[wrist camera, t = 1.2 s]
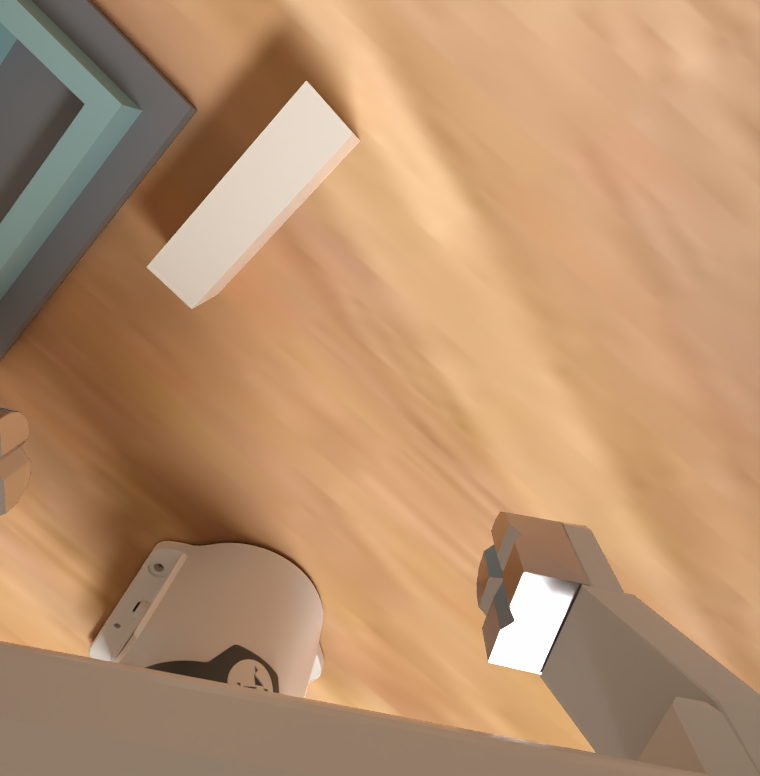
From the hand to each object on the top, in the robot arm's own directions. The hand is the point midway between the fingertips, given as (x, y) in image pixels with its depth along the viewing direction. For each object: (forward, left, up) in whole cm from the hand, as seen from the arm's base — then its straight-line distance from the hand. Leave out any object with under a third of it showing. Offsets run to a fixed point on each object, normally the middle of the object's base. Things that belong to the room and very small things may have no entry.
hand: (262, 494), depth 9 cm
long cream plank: (-2, +8, -29) cm, 30 cm away
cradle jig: (-13, +21, -28) cm, 37 cm away
